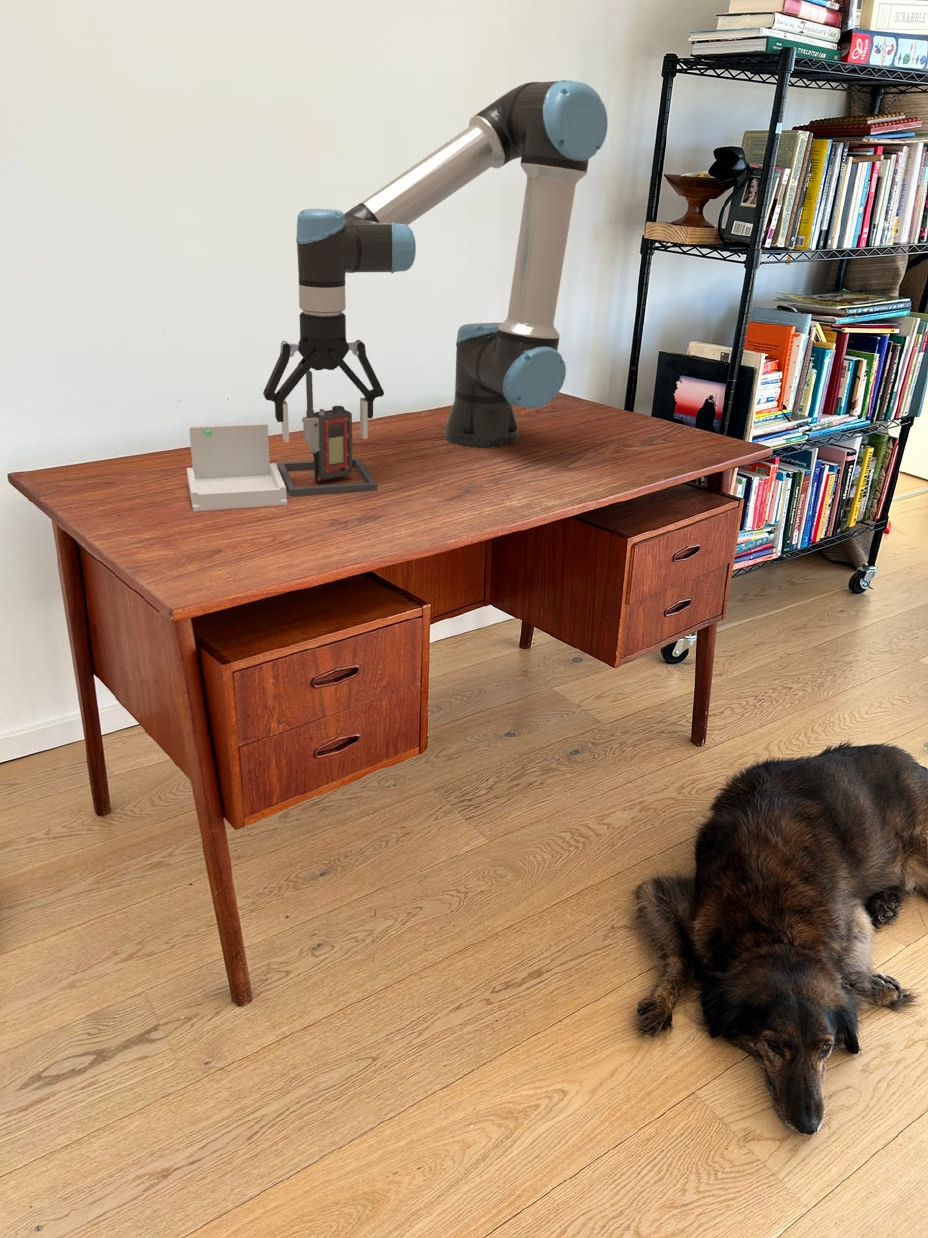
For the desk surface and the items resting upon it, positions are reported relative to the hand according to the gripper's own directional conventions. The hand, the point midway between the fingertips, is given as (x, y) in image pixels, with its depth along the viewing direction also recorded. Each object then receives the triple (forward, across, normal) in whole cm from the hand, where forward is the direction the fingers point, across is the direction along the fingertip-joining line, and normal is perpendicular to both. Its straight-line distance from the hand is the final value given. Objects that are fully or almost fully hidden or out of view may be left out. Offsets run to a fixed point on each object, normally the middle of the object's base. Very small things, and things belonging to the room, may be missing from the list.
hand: (325, 438), depth 168 cm
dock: (+8, +16, +4) cm, 18 cm away
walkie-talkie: (+8, 0, 0) cm, 8 cm away
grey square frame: (+8, 0, 0) cm, 8 cm away
